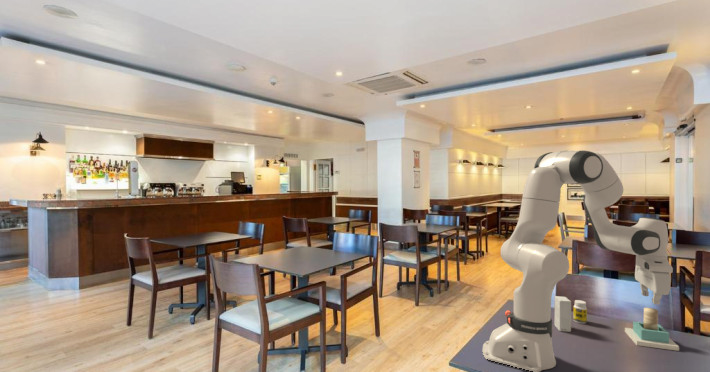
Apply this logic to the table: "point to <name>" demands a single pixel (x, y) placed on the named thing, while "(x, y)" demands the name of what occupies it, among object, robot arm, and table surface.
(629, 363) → the table surface
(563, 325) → the skincare box
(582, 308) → the supplement bottle
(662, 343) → the socket block
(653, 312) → the maple peg
